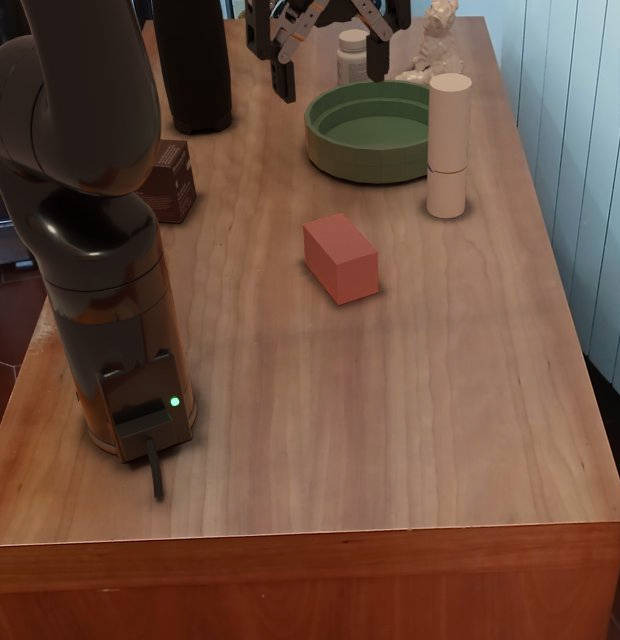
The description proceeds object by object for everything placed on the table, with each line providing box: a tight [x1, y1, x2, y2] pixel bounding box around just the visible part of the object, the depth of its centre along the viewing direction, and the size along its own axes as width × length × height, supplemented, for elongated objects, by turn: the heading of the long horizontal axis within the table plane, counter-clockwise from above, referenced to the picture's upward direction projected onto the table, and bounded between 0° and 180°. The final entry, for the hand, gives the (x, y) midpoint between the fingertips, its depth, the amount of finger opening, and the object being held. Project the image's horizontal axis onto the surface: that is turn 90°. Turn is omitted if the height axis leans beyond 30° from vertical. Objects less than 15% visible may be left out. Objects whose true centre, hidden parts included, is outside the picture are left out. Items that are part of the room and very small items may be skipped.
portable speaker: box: [151, 0, 233, 135], centre depth 116 cm, size 9×9×20 cm
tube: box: [426, 73, 473, 219], centre depth 99 cm, size 4×4×15 cm
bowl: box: [303, 79, 430, 185], centre depth 113 cm, size 18×18×5 cm
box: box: [134, 138, 197, 224], centre depth 104 cm, size 6×6×7 cm
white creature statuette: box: [394, 0, 465, 87], centre depth 124 cm, size 10×9×12 cm
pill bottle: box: [336, 28, 371, 86], centre depth 124 cm, size 5×5×8 cm
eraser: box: [302, 212, 379, 306], centre depth 93 cm, size 8×4×5 cm, turn 26°
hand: (332, 89), depth 81 cm, fingers open, 8 cm apart
